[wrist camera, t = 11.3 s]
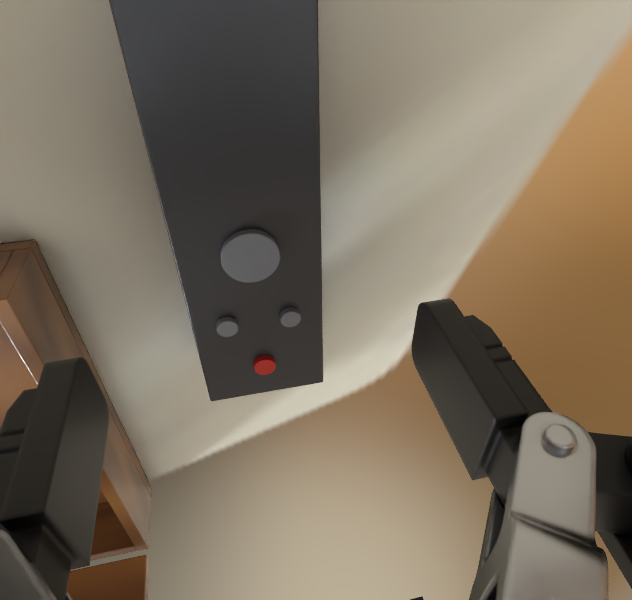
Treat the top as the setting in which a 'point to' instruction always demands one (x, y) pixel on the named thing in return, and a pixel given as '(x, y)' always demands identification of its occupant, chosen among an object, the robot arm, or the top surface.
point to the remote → (236, 176)
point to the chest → (24, 373)
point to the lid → (111, 581)
